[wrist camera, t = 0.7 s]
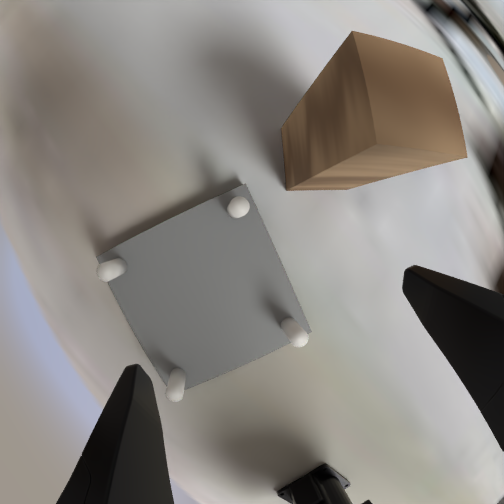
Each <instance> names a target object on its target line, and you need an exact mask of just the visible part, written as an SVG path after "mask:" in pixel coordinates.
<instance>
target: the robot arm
mask: <svg viewBox="0 0 504 504" xmlns="http://www.w3.org/2000/svg"><path fill="white" fill-rule="evenodd" d="M402 289H403V293H404V295H405V296H406V298H407V300H408V301H409V303H410V304H411V306H412V308H413V309H414V311H415V313H416V314H417V316H418V318H419V319H420V321H421V323H422V324H423V326H424V327H425V329H426V330H427V332H428V333H429V335H430V336H431V337H432V339H433V340H434V341H435V343H436V344H437V346H438V347H439V349H440V350H441V351H442V353H443V354H444V356H445V357H446V359H447V360H448V361H449V363H450V364H451V366H452V367H453V369H454V370H455V372H456V373H457V375H458V376H459V378H460V379H461V381H462V383H463V384H464V386H465V387H466V389H467V390H468V392H469V393H470V395H471V397H472V398H473V400H474V402H475V403H476V405H477V406H478V408H479V410H480V411H481V413H482V415H483V417H484V418H485V420H486V422H487V424H488V425H489V427H490V429H491V431H492V432H493V434H494V436H495V438H496V440H497V442H498V443H499V445H500V447H501V449H502V450H503V452H504V294H502V295H501V293H498V292H495V291H492V290H489V289H486V288H484V287H481V286H478V285H475V284H472V283H469V282H466V281H463V280H460V279H457V278H454V277H451V276H448V275H445V274H442V273H439V272H436V271H433V270H430V269H427V268H424V267H420V266H417V265H413V266H411V267H409V268H407V269H405V271H404V278H403V286H402ZM349 486H350V482H349V481H348V480H347V479H345V478H344V477H343V476H341V475H340V474H339V473H337V472H336V471H335V470H333V469H332V468H331V467H330V466H328V465H327V464H324V465H321V466H320V467H318V468H317V469H315V470H314V471H312V472H310V473H309V474H307V475H305V476H304V477H302V478H300V479H299V480H297V481H295V482H293V483H292V484H290V485H288V486H286V487H284V488H283V489H281V490H279V491H278V492H277V494H278V496H279V497H281V498H282V499H284V500H286V501H288V502H289V503H291V504H352V502H351V501H350V499H349V497H348V495H347V493H346V492H345V490H344V489H346V488H347V487H349ZM56 504H174V501H173V495H172V490H171V485H170V479H169V473H168V467H167V460H166V454H165V447H164V439H163V431H162V425H161V420H160V416H159V412H158V407H157V403H156V398H155V393H154V388H153V384H152V381H151V379H150V377H149V376H148V375H147V374H146V372H145V371H144V370H143V369H142V367H141V366H140V365H139V364H133V365H129V366H127V367H126V368H125V369H124V371H123V373H122V375H121V377H120V378H119V380H118V382H117V384H116V386H115V388H114V390H113V392H112V394H111V396H110V398H109V399H108V401H107V403H106V405H105V407H104V409H103V411H102V414H101V415H100V417H99V419H98V421H97V423H96V425H95V428H94V429H93V432H92V433H91V435H90V438H89V440H88V442H87V444H86V446H85V448H84V450H83V452H82V456H81V457H80V459H79V461H78V463H77V465H76V467H75V469H74V471H73V473H72V475H71V477H70V479H69V481H68V483H67V485H66V487H65V488H64V490H63V492H62V494H61V496H60V498H59V499H58V501H57V503H56ZM362 504H372V503H371V502H370V500H367V501H365V502H364V503H362ZM497 504H504V498H503V499H502V500H501V501H500V502H499V503H497Z"/></svg>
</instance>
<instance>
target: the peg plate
mask: <svg viewBox="0 0 504 504" xmlns="http://www.w3.org/2000/svg"><path fill="white" fill-rule="evenodd" d="M96 258H97V260H98V262H99V264H100V265H99V266H98V268H97V275H98V277H99V279H100V280H102V281H104V282H108V284H109V286H110V288H111V290H112V292H113V294H114V296H115V298H116V300H117V302H118V304H119V306H120V308H121V310H122V312H123V314H124V315H125V317H126V319H127V321H128V323H129V325H130V327H131V328H132V330H133V332H134V334H135V336H136V337H137V339H138V341H139V343H140V344H141V346H142V348H143V349H144V351H145V353H146V354H147V356H148V358H149V359H150V361H151V363H152V364H153V366H154V367H155V369H156V371H157V372H158V374H159V375H160V377H161V379H162V380H163V382H164V383H165V385H166V386H167V389H166V397H167V398H168V399H169V400H171V401H174V402H177V401H180V400H181V399H182V398H183V393H184V390H186V389H188V388H191V387H193V386H196V385H198V384H201V383H203V382H206V381H208V380H210V379H213V378H215V377H218V376H220V375H222V374H225V373H227V372H229V371H232V370H234V369H236V368H238V367H241V366H243V365H245V364H247V363H249V362H252V361H254V360H256V359H258V358H260V357H262V356H264V355H267V354H269V353H271V352H273V351H275V350H277V349H279V348H281V347H283V346H285V345H287V344H289V343H292V345H293V346H295V347H302V346H304V345H305V344H306V343H307V342H308V338H309V337H308V334H309V333H310V332H312V331H311V329H310V327H309V324H308V322H307V320H306V317H305V315H304V313H303V310H302V308H301V306H300V303H299V301H298V299H297V297H296V294H295V292H294V290H293V287H292V285H291V283H290V281H289V278H288V276H287V274H286V272H285V269H284V267H283V265H282V263H281V260H280V258H279V256H278V254H277V251H276V249H275V247H274V245H273V242H272V240H271V238H270V236H269V234H268V231H267V229H266V227H265V225H264V223H263V220H262V218H261V216H260V214H259V212H258V209H257V207H256V205H255V203H254V201H253V199H252V196H251V194H250V192H249V190H248V188H247V186H246V184H244V185H241V186H239V187H237V188H235V189H232V190H230V191H228V192H226V193H223V194H221V195H219V196H217V197H215V198H212V199H210V200H208V201H206V202H204V203H202V204H199V205H197V206H195V207H193V208H191V209H189V210H187V211H185V212H183V213H180V214H178V215H176V216H174V217H172V218H170V219H168V220H166V221H164V222H162V223H160V224H158V225H156V226H154V227H152V228H150V229H148V230H146V231H144V232H142V233H140V234H138V235H136V236H135V237H133V238H131V239H129V240H127V241H125V242H123V243H121V244H119V245H117V246H116V247H114V248H112V249H110V250H108V251H106V252H104V253H103V254H101V255H99V256H97V257H96Z"/></svg>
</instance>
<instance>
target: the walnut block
mask: <svg viewBox="0 0 504 504" xmlns="http://www.w3.org/2000/svg"><path fill="white" fill-rule="evenodd" d="M281 132H282V143H283V154H284V166H285V178H286V191H294V190H348V189H351V188H355V187H358V186H362V185H365V184H369V183H372V182H376V181H379V180H383V179H386V178H390V177H394V176H397V175H401V174H405V173H408V172H412V171H416V170H420V169H424V168H427V167H431V166H435V165H439V164H443V163H447V162H451V161H455V160H459V159H463V158H467V151H466V146H465V140H464V135H463V130H462V126H461V121H460V117H459V113H458V108H457V105H456V101H455V97H454V93H453V90H452V87H451V83H450V80H449V77H448V74H447V71H446V68H445V65H444V62H443V59H442V58H440V57H437V56H435V55H432V54H430V53H427V52H424V51H421V50H419V49H416V48H413V47H410V46H407V45H404V44H401V43H397V42H394V41H391V40H387V39H384V38H380V37H376V36H372V35H368V34H364V33H360V32H355V31H352V32H351V33H350V34H349V36H348V37H347V38H346V40H345V41H344V42H343V44H342V45H341V46H340V47H339V49H338V50H337V51H336V53H335V54H334V55H333V57H332V58H331V59H330V61H329V62H328V63H327V65H326V66H325V67H324V69H323V70H322V72H321V73H320V74H319V76H318V77H317V78H316V80H315V81H314V82H313V84H312V85H311V87H310V88H309V89H308V91H307V92H306V94H305V95H304V96H303V98H302V99H301V101H300V102H299V103H298V105H297V106H296V108H295V109H294V110H293V112H292V113H291V115H290V116H289V118H288V119H287V120H286V122H285V123H284V125H283V126H282V128H281Z"/></svg>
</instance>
